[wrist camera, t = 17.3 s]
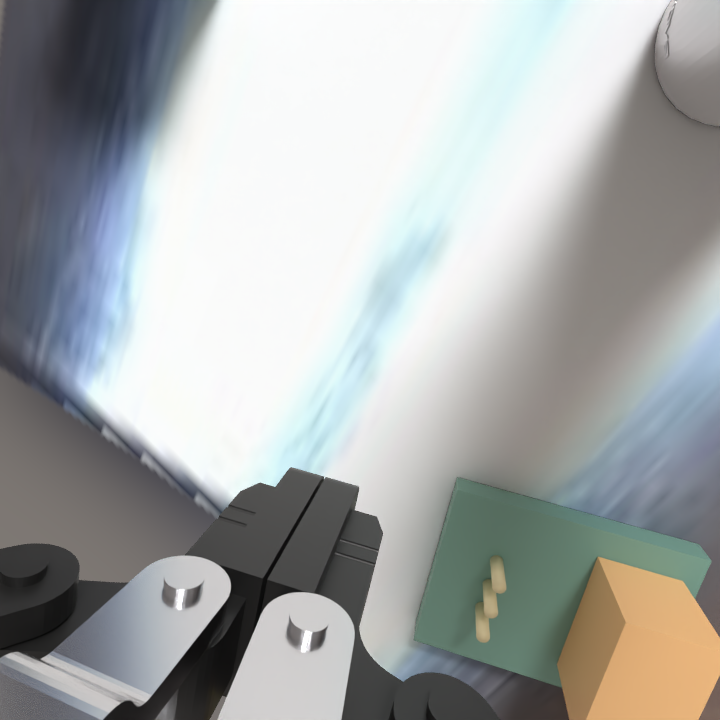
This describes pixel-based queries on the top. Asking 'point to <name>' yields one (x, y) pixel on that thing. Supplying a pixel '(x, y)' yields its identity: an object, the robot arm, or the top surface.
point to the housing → (638, 649)
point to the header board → (529, 575)
